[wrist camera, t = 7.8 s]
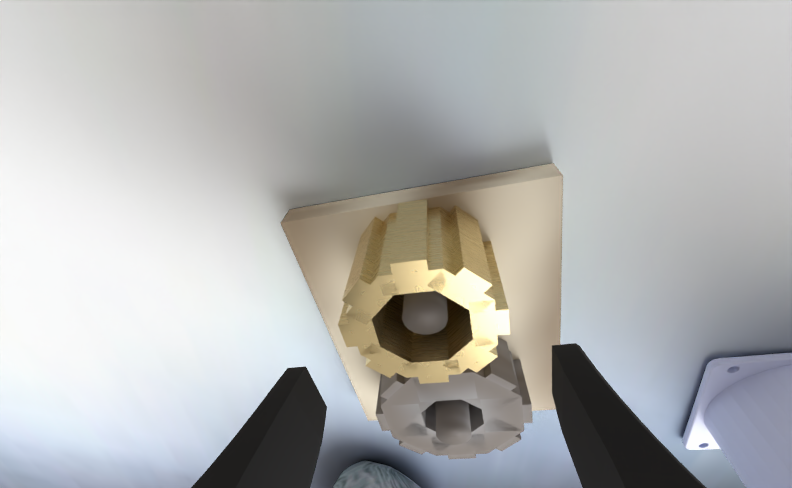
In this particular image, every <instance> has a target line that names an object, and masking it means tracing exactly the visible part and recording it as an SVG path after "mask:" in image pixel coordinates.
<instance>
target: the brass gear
mask: <svg viewBox="0 0 792 488" xmlns="http://www.w3.org/2000/svg"><path fill="white" fill-rule="evenodd" d="M428 291H437V292H439V293H441V294H442V295H444V296H446V297H447V311H448V322H447V324H446V326H445V327H444V328H443V329H442V330H441V331H439V332H437V333H434V334H429V335H422V334H417V333H414V332H412V331H410V330H409V329H408V328H407V327H406V326H405V325H404V323H403V320H402V313H403V302H404V294H408V293H418V292H428ZM342 301H344V305H343V309H342V312H341V316H340V319H339V323H338V326H339V329H340V332H341V334H342V337H343V339H344V342H345V345H346V347H356V346H357V347H358V349H359V352H360V355H362V356H364V357H366V358H367V359H366V365H365V366H367V367H369V368H371V369H373V370H375V371H377V372H379V373H381V374H383V375H385V376H387V377H389V378H391V377H392V376H393V375H394V374H395V373H398V374H400V375H402V376H404V377H406V378H409V377H418V379H419V383H420V384H425V383H441V382H449V375H456V374H461V373H462V372H464V371H465V370H466V369H467V368H469V369H471V370H473V371H475V372H478V371H480V370H481V369H482V368H483V367H485V366H486V365H487V364H489V363H490V362H491V361H493V360H494V359H495V358H497V357H498V354H497V349H496V346H497V345H498V338H497V335H506V334H510V327H509V309H508V305H507V301H506V297H505V294H504V290H503V286H502V282H501V278H500V274H499V271H498V267H497V263H496V259H495V255H494V252H493V248H492V244H491V241H485V242H483V241H482V236H481V232H480V227H479V223H478V220H477V219H476V218H474V217H473V216H471V215H470V214H468V213H467V212H465V211H464V210H462V209H461V208H459V207H458V206H456V205H455V206H454V207H453V209H452V210H451V211H450V212H447V211H446V210H444V209H443V208H441V207H433V208H428V202H427V199H423V200H416V201H409V202H402V203H399V204H398V211H397V213H390V214H389V215H388V216H387V218H386V219H385V220H384V222H383V221H382V220H380V219H379V218H377V217H374V218H373V220H372V221H371V223H370V224H369V225H368V227H367V228H366V229H365V231H364V232H363V233H362V235H361V237H360V240H359V244H358V247H357V251H356V254H355V257H354V261H353V264H352V268H351V271H350V274H349V278H348V281H347V285H346V288H345V291H344V295H343V298H342Z"/></svg>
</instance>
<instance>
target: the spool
mask: <svg viewBox="0 0 792 488" xmlns="http://www.w3.org/2000/svg"><path fill="white" fill-rule="evenodd" d="M333 488H421V487H420V486H418V485H417V484H416V483H415V482H413V481H412V480H411V479H409V478H408V477H407V476H405V475H404V474H402V473H400V472H399V471H397V470H395V469H394V468H392V467H390V466H387V465H382V464H378V463H374V462H369V461H362V462H358V463H356V464H353V465H352V466H350V467H348V468H347V469H346V470H344V471H343V472H342V473H341V475H340V476H339V478H338V480H337V481H336V483H335V485H334V487H333Z"/></svg>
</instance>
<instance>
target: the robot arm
mask: <svg viewBox="0 0 792 488" xmlns="http://www.w3.org/2000/svg"><path fill="white" fill-rule="evenodd" d="M552 395H553V399H554V403H555V407H556V411H557V415H558V418H559V422H560V426H561V429H562V433H563V435H564V438H565V441H566V444H567V446H568V449H569V452H570V455H571V457H572V460H573V463H574V465H575V468H576V471H577V474H578V476H579V479H580V482H581V484H582V487H583V488H706V487H705V486H704V485H703V484H702V483H701V482H700V481H699V480H698V479H697V478H696V477H695V476H694V475H693V474H691V473H690V472H689V471H688V470H687V469H686V468H685V467H684V466H683V465H682V464H681V463H680V462H679V461H678V460H677V459H676V458H675V457H674V456H673V455H672V453H671V452H670V451H669V450H668V449H667V448H666V447H665V446H664V445H663V444H662V443H661V442H660V441H659V440H658V439H657V438H656V437H655V436H654V435H653V434H652V433H651V432H650V430H649V429H648V428H647V427H646V426H645V425H644V424H643V423H642V422H641V421H640V420H639V418H638V417H637V416H636V415H635V414H634V413H633V412H632V411H631V409H630V408H629V407H628V406H627V405H626V404H625V403H624V402H623V400H622V399H621V398H620V397H619V396H618V395H617V393H616V392H615V391H614V390H613V389H612V387H611V386H610V385H609V384H608V382H607V381H606V380H605V379H604V378H603V376H602V375H601V374H600V373H599V371H598V370H597V369H596V367H595V366H594V365H593V364H592V362H591V361H590V360H589V358H588V357H587V356H586V354H585V353H584V351H583V350H582V349H581V347H580V346H579V345H577V344H576V343H575V344H564V345H552ZM326 410H327V406H326V404H325V402H324V401H323V399H322V397H321V395H320V393H319V391H318V389H317V387H316V385H315V383H314V381H313V379H312V378H311V376H310V374H309V372H308V370H307V368H306V367H296V368H287V370H286V371H285V372H284V374H283V375H282V376H281V377H280V379H279V380H278V381H277V383H276V384H275V385H274V387H273V388H272V389H271V391H270V392H269V393H268V395H267V396H266V397H265V398H264V400H263V401H262V402H261V404H260V405H259V406H258V408H257V409H256V410H255V412H254V413H253V414H252V415H251V417H250V418H249V419H248V421H247V422H246V423H245V424H244V426H243V427H242V428H241V430H240V431H239V432H238V433H237V435H236V436H235V437H234V438H233V440H232V441H231V442H230V443H229V444H228V446H227V447H226V448H225V449H224V450H223V452H222V453H221V454H220V455H219V456H218V458H217V459H216V460H215V461H214V462H213V464H212V465H211V466H210V467H209V468H208V469H207V471H206V472H205V473H204V474H203V475H202V476H201V477H200V479H199V480H198V481H197V482H196V483H195V484H194V485H193V486H192V487H191V488H310V486H311V482H312V478H313V474H314V471H315V467H316V463H317V459H318V455H319V451H320V447H321V443H322V438H323V432H324V425H325V417H326ZM682 443H683V444H684V446H685V448H687V449H690V450H700V449H721V450H722V452H723V453H724V455H725V456H726V458H727V459H728V461H729V462H730V464H731V465H732V467H733V468H734V470H735V471H736V473H737V474H738V476H739V477H740V479H741V481H742V482H743V484H744V485H745V487H746V488H792V353H780V354H767V355H754V356H742V357H729V358H718V359H714V360H711V361H710V362H709V363H708V364H707V366H706V369H705V372H704V375H703V378H702V381H701V384H700V387H699V390H698V393H697V397H696V400H695V403H694V406H693V409H692V412H691V415H690V418H689V421H688V424H687V427H686V430H685V433H684V436H683V439H682Z"/></svg>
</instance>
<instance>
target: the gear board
mask: <svg viewBox="0 0 792 488" xmlns="http://www.w3.org/2000/svg"><path fill="white" fill-rule="evenodd" d="M562 198H563V175H562V174H561V172H560V171H559V170H558V169H557V167H556V166H555V165H554V163H552V164H546V165H541V166H535V167H529V168H524V169H518V170H512V171H506V172H501V173H495V174H489V175H484V176H478V177H472V178H467V179H461V180H455V181H449V182H444V183H438V184H432V185H427V186H421V187H415V188H410V189H404V190H398V191H392V192H387V193H381V194H375V195H370V196H364V197H358V198H353V199H347V200H341V201H335V202H330V203H324V204H318V205H313V206H307V207H301V208H296V209H290V210H289V211H288V213H287V214H286V216H285V217H284V219H283V220H282V222H281V225H282V228H283V230H284V232H285V234H286V237H287V239H288V241H289V243H290V246H291V248H292V250H293V252H294V255H295V257H296V259H297V261H298V264H299V266H300V268H301V270H302V273H303V275H304V277H305V279H306V282H307V284H308V286H309V288H310V291H311V293H312V295H313V297H314V300H315V302H316V304H317V306H318V309H319V311H320V313H321V315H322V318H323V320H324V322H325V324H326V327H327V329H328V331H329V333H330V336H331V338H332V340H333V342H334V345H335V347H336V349H337V351H338V354H339V356H340V358H341V360H342V363H343V365H344V367H345V369H346V372H347V374H348V376H349V378H350V381H351V383H352V385H353V387H354V390H355V392H356V394H357V396H358V399H359V401H360V403H361V405H362V408H363V410H364V412H365V414H366V417H367V419H368V421H371V420H378V421H379V424H380V426H381V429H382V431H389V430H390V431H391V434H392V436H393V437H394V438H396V439H398V440H400V441H399V445H400V446H403V447H405V448H407V449H410V450H412V451H414V452H417V453H419V454H423V453H425V452H429V453H431V454H433V455H436V456H438V455H448V458H449V459H465V458H476V454H486V453H489V452H491V451H492V450H494V449H495V448H496V449H498V450H500V451H503V450H505V449H506V448H508V447H509V446H511V445H513V444H514V443H516V442H518V441H519V440H521V436H520V433H521V432H523V431H524V423H532V411H536V410H553V409H556V407H555V403H554V399H553V395H552V345H560V322H561V260H562ZM423 199H427V202H428V208H433V207H441V208H443V209H444V210H446V211H447V212H450V211H451V210H452V209H453V207H454V206H455V205H456V206H458V207H459V208H461V209H462V210H464V211H465V212H467V213H468V214H470V215H471V216H473V217H474V218H476V219H477V220H478V223H479V227H480V232H481V236H482V241H483V242H485V241H491V244H492V248H493V252H494V255H495V259H496V263H497V267H498V271H499V274H500V278H501V282H502V286H503V290H504V294H505V297H506V301H507V305H508V309H509V327H510V334H506V335H497V338H498V345H497V346H496V349H497V354H498V357H497V358H495V359H494V360H493V361H491V362H490V363H489V364H487V365H486V366H485V367H483V368H482V369H481V370H480V371H478V372H475V371H473V370H471V369H469V368H467V369H466V370H465V371H464V372H462V373H461V374H456V375H449V382H441V383H425V384H420V383H419V379H418V377H409V378H406V377H404V376H402V375H400V374H398V373H395V374H394V375H393V376H392V377H391V378H389V377H387V376H385V375H383V374H381V373H379V372H377V371H375V370H373V369H371V368H369V367H367V366H365V365H366V359H367V358H366V357H364V356H362V355H360V352H359V349H358V347H357V346H356V347H346V345H345V342H344V339H343V337H342V334H341V332H340V329H339V326H338V323H339V319H340V316H341V312H342V309H343V305H344V301H342V298H343V295H344V291H345V288H346V285H347V281H348V278H349V274H350V271H351V268H352V264H353V261H354V257H355V254H356V251H357V247H358V244H359V240H360V237H361V235H362V233H363V232H364V231H365V229H366V228H367V227H368V225H369V224H370V223H371V221H372V220H373V218H374V217H377V218H379V219H380V220H382V221H383V222H384V220H385V219H386V218H387V216H388V215H389V214H390V213H397V211H398V204H399V203H402V202H409V201H416V200H423ZM402 320H403V323H404V325H405V326H406V327H407V328H408V329H409V330H410V331H412V332H414V333H417V334H422V335H429V334H434V333H437V332H439V331H441V330H442V329H443V328H444V327H445V326H446V324H447V322H448V311H447V297H446V296H444V295H442V294H441V293H439V292H437V291H428V292H418V293H408V294H404V302H403V313H402Z"/></svg>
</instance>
